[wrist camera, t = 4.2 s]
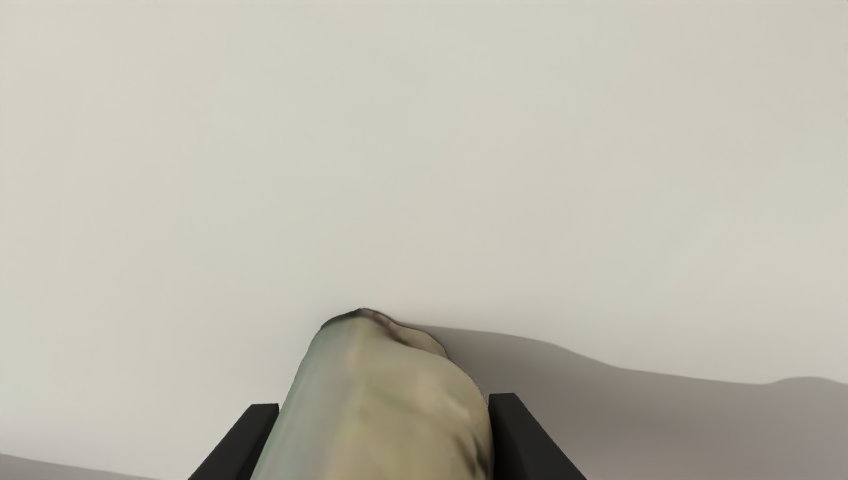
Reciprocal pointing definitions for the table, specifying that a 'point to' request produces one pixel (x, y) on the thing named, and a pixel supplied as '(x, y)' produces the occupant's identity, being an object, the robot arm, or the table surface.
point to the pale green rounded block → (378, 410)
